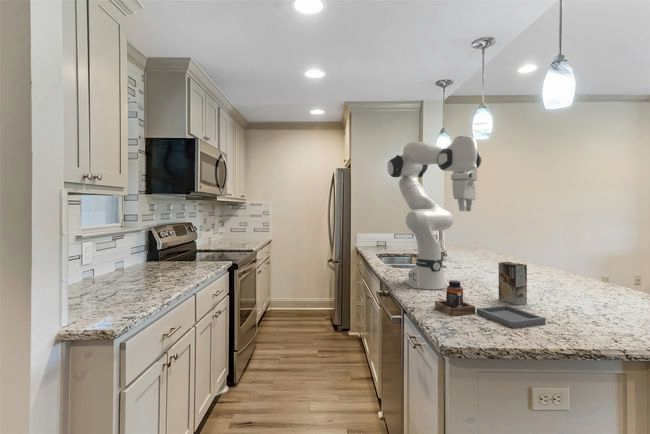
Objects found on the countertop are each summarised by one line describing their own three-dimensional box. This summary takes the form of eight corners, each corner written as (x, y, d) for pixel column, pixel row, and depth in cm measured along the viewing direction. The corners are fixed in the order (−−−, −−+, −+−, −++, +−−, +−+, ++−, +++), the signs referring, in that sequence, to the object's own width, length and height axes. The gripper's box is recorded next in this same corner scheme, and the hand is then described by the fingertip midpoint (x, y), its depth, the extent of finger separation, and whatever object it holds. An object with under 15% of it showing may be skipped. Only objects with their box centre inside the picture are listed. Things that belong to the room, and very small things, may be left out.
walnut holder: (433, 307, 131) (433, 301, 131) (457, 305, 134) (457, 299, 134) (451, 316, 121) (451, 309, 121) (476, 313, 124) (476, 306, 124)
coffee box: (527, 303, 136) (528, 264, 136) (515, 305, 134) (516, 265, 134) (509, 298, 145) (509, 261, 144) (497, 299, 143) (497, 262, 142)
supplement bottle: (464, 313, 124) (464, 283, 124) (447, 312, 125) (447, 282, 125) (461, 308, 130) (461, 279, 130) (445, 307, 131) (445, 279, 131)
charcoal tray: (476, 313, 123) (476, 308, 123) (506, 310, 127) (506, 305, 127) (512, 328, 108) (512, 322, 108) (545, 323, 112) (545, 318, 112)
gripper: (463, 179, 143) (463, 211, 143) (449, 174, 126) (449, 211, 127) (479, 178, 139) (479, 211, 139) (466, 173, 123) (467, 211, 123)
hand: (465, 211), depth 133 cm, fingers open, 8 cm apart
